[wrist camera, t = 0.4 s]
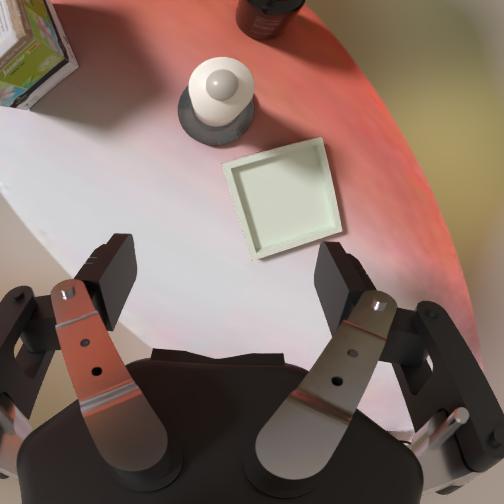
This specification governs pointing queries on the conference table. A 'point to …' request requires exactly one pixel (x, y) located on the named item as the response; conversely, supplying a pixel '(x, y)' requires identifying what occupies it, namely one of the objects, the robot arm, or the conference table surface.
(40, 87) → the tea box
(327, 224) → the tray
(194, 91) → the white knobbed cylinder
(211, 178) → the conference table surface
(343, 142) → the conference table surface
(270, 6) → the supplement bottle
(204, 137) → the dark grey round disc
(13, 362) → the robot arm
